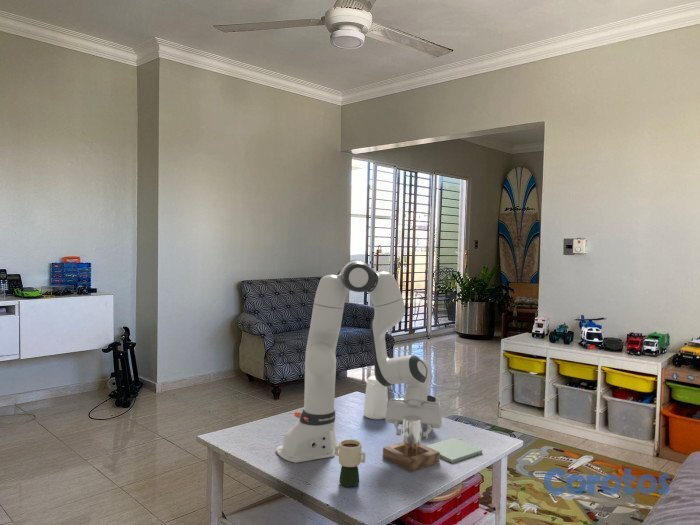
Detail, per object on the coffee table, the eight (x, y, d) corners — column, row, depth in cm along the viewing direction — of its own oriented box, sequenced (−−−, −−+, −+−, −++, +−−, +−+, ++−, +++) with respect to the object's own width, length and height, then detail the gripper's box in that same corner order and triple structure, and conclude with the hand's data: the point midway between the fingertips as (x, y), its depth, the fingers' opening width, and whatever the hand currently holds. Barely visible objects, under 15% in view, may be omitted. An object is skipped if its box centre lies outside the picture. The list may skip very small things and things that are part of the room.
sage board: (451, 463, 182) (451, 459, 182) (423, 449, 193) (423, 446, 193) (482, 453, 192) (482, 450, 192) (453, 440, 203) (453, 437, 203)
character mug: (369, 484, 165) (371, 443, 165) (358, 493, 159) (359, 450, 158) (340, 475, 171) (341, 436, 170) (328, 483, 165) (329, 442, 164)
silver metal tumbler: (408, 453, 189) (409, 412, 189) (424, 459, 185) (426, 417, 184) (397, 459, 184) (398, 417, 183) (413, 465, 179) (415, 422, 179)
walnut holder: (409, 471, 175) (410, 461, 174) (382, 457, 186) (383, 447, 186) (439, 462, 183) (439, 452, 183) (411, 448, 194) (412, 439, 194)
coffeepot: (358, 424, 218) (359, 380, 217) (368, 406, 242) (369, 366, 241) (384, 427, 215) (385, 382, 215) (391, 408, 240) (392, 367, 239)
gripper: (386, 393, 193) (381, 429, 184) (443, 399, 188) (440, 435, 179) (388, 402, 197) (383, 436, 188) (443, 407, 192) (440, 443, 183)
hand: (411, 436), depth 183 cm, fingers open, 8 cm apart
